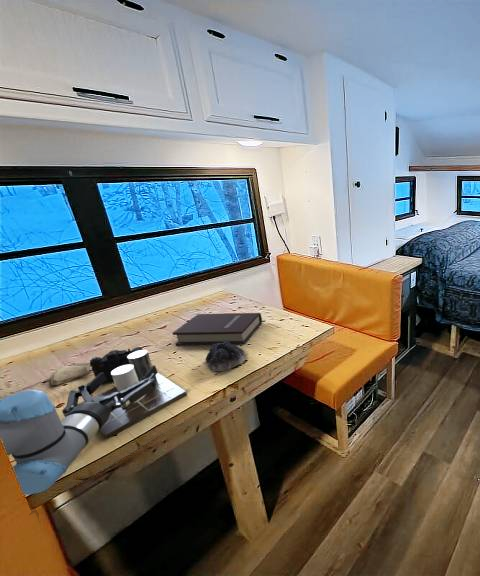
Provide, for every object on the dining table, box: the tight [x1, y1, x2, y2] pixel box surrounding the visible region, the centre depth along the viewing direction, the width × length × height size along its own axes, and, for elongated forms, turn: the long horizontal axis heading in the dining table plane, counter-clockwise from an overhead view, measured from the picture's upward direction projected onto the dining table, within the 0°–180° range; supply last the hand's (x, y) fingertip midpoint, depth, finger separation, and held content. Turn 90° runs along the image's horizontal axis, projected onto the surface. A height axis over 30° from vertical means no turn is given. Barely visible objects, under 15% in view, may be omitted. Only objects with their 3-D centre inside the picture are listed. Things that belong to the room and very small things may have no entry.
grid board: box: [77, 372, 188, 440], centre depth 92 cm, size 22×20×2 cm
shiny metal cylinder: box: [127, 349, 156, 382], centre depth 98 cm, size 5×5×10 cm
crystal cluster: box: [205, 341, 246, 372], centre depth 110 cm, size 13×14×10 cm
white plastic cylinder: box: [111, 365, 139, 392], centre depth 90 cm, size 5×5×10 cm
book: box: [172, 312, 263, 347], centre depth 132 cm, size 28×20×6 cm
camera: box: [89, 346, 144, 386], centre depth 105 cm, size 14×11×10 cm
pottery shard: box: [50, 362, 91, 386], centre depth 106 cm, size 11×4×10 cm
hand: (129, 372), depth 92 cm, fingers open, 13 cm apart
